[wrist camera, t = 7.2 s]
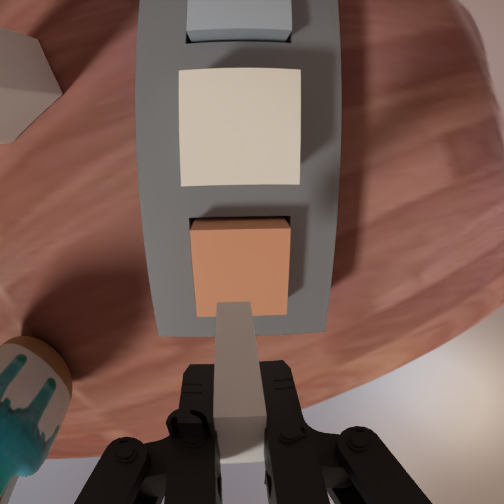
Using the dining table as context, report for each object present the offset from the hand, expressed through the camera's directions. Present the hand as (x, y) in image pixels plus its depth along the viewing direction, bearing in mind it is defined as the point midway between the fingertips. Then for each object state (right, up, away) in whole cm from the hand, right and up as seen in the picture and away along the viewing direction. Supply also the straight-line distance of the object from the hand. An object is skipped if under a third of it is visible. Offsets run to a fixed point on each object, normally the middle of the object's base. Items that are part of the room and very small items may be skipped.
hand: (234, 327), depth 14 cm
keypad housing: (0, +13, +9) cm, 15 cm away
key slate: (0, +21, +4) cm, 21 cm away
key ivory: (0, +12, +6) cm, 13 cm away
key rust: (0, +4, +11) cm, 12 cm away
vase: (-24, -9, +16) cm, 30 cm away
